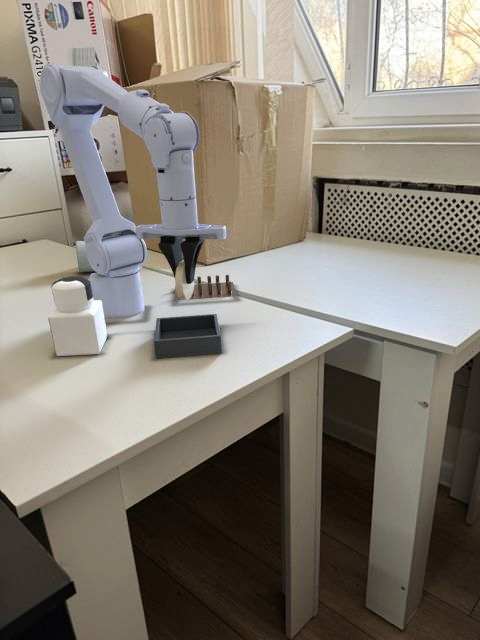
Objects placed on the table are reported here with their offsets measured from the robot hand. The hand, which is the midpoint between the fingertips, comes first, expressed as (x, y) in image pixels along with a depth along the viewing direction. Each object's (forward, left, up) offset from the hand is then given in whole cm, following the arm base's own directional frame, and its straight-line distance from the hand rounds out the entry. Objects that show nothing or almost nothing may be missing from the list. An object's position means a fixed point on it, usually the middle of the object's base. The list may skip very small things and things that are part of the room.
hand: (185, 281), depth 85 cm
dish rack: (+4, +23, -10) cm, 26 cm away
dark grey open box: (0, -2, -10) cm, 11 cm away
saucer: (0, 0, -3) cm, 3 cm away
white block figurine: (-18, 0, -11) cm, 21 cm away
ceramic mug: (-23, +49, -7) cm, 55 cm away
